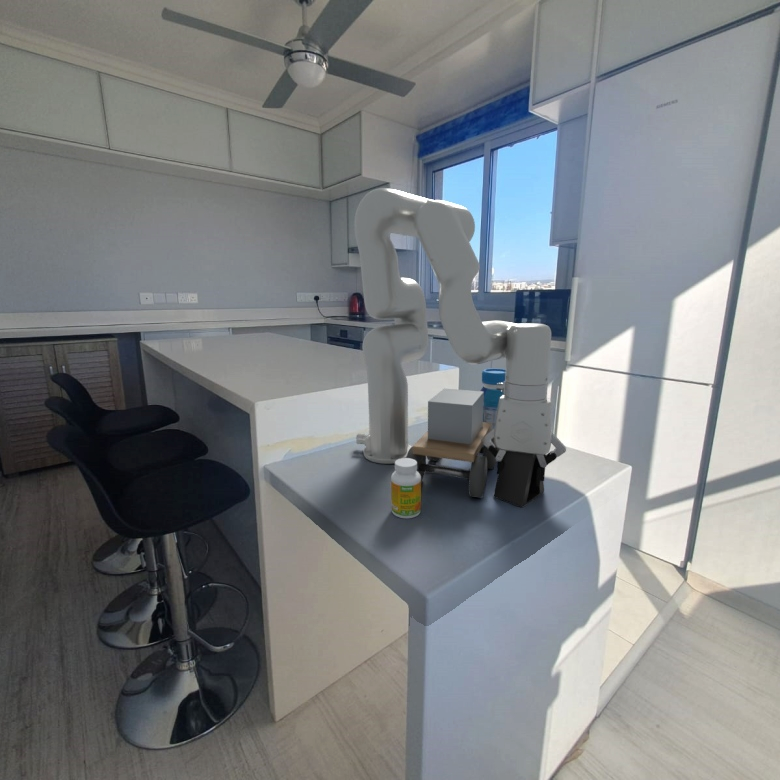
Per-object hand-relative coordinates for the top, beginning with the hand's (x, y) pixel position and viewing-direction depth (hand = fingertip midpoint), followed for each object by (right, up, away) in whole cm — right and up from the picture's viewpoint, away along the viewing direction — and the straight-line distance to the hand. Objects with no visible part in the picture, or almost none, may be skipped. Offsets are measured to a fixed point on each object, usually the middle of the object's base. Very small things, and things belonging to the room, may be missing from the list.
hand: (520, 479), depth 80 cm
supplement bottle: (-22, -5, -5) cm, 23 cm away
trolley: (-11, -1, +10) cm, 15 cm away
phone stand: (0, -3, +1) cm, 3 cm away
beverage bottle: (+1, +3, +26) cm, 26 cm away
